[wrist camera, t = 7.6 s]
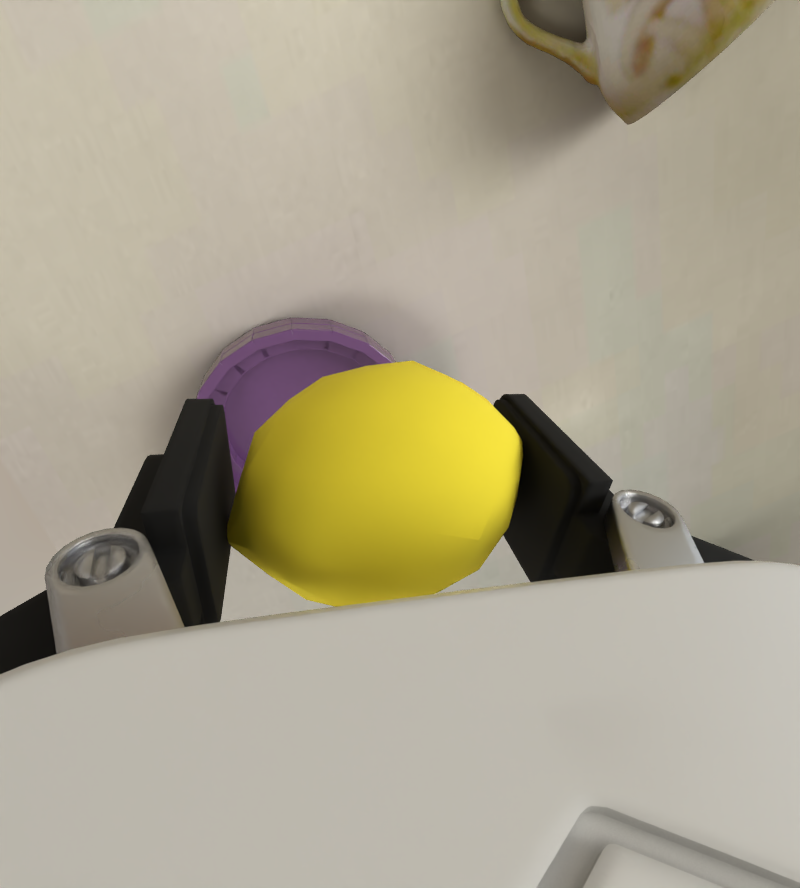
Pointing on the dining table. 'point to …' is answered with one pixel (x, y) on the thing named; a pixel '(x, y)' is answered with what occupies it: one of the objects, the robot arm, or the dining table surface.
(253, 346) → the dish
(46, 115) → the dining table surface
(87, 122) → the dining table surface
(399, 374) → the lemon
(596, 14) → the mug
